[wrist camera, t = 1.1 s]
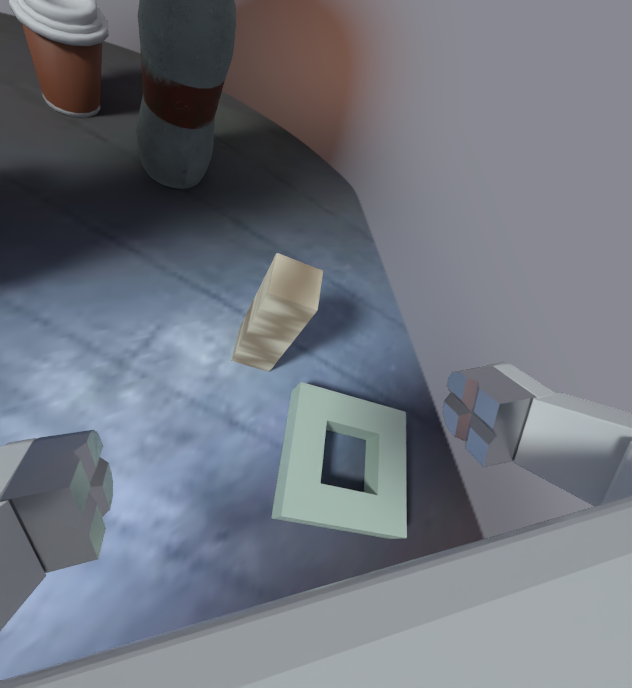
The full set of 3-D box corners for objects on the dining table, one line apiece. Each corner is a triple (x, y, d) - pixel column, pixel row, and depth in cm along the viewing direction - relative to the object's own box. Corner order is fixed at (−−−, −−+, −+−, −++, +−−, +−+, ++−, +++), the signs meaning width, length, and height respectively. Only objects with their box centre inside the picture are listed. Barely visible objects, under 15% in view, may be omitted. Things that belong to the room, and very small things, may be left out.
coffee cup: (126, 105, 53) (125, 6, 43) (85, 136, 48) (73, 31, 38) (61, 66, 52) (44, -46, 42) (11, 94, 47) (-21, -25, 37)
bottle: (136, 134, 52) (142, -234, 27) (206, 150, 56) (265, -159, 31) (134, 184, 48) (138, -190, 24) (209, 198, 52) (279, -111, 27)
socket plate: (271, 518, 37) (281, 516, 35) (291, 391, 44) (301, 381, 42) (390, 538, 41) (406, 538, 39) (391, 418, 48) (405, 411, 45)
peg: (231, 360, 43) (267, 292, 31) (239, 327, 45) (276, 252, 34) (269, 371, 44) (317, 310, 33) (275, 338, 46) (322, 270, 35)
